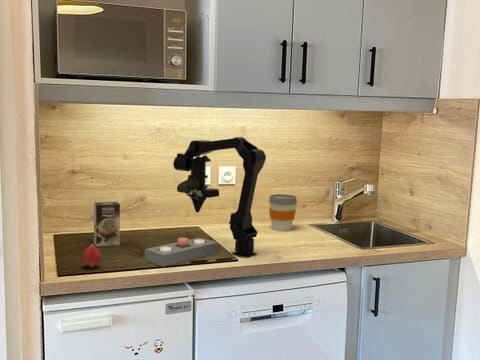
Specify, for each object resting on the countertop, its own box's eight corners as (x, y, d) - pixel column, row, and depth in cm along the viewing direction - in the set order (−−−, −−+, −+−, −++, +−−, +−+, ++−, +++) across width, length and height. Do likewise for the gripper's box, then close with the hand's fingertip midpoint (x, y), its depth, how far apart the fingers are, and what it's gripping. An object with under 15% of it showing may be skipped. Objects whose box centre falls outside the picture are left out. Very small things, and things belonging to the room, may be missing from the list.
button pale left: (173, 256, 181) (173, 248, 181) (164, 258, 178) (164, 250, 178) (166, 254, 184) (166, 245, 184) (157, 256, 181) (157, 247, 181)
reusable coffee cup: (262, 228, 236) (263, 195, 234) (280, 224, 245) (282, 193, 243) (282, 233, 227) (284, 199, 225) (301, 229, 236) (302, 197, 234)
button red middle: (190, 247, 187) (190, 239, 186) (182, 249, 184) (182, 240, 184) (183, 244, 190) (183, 236, 189) (175, 246, 187) (175, 238, 186)
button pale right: (206, 248, 193) (206, 240, 193) (198, 250, 190) (198, 242, 190) (199, 246, 196) (199, 238, 195) (191, 248, 193) (191, 240, 192)
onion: (79, 268, 170) (78, 244, 169) (90, 263, 175) (89, 240, 174) (93, 270, 168) (93, 246, 166) (104, 266, 173) (104, 242, 172)
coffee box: (96, 246, 196) (95, 205, 194) (93, 242, 202) (93, 202, 199) (120, 245, 199) (120, 204, 197) (117, 241, 205) (117, 201, 203)
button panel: (217, 252, 193) (218, 242, 193) (163, 266, 174) (163, 255, 174) (199, 247, 200) (199, 237, 200) (145, 260, 181) (145, 249, 181)
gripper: (166, 171, 201) (166, 210, 203) (199, 176, 188) (198, 218, 190) (188, 169, 209) (187, 207, 211) (220, 174, 196) (219, 215, 198)
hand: (197, 212), depth 202 cm, fingers closed
